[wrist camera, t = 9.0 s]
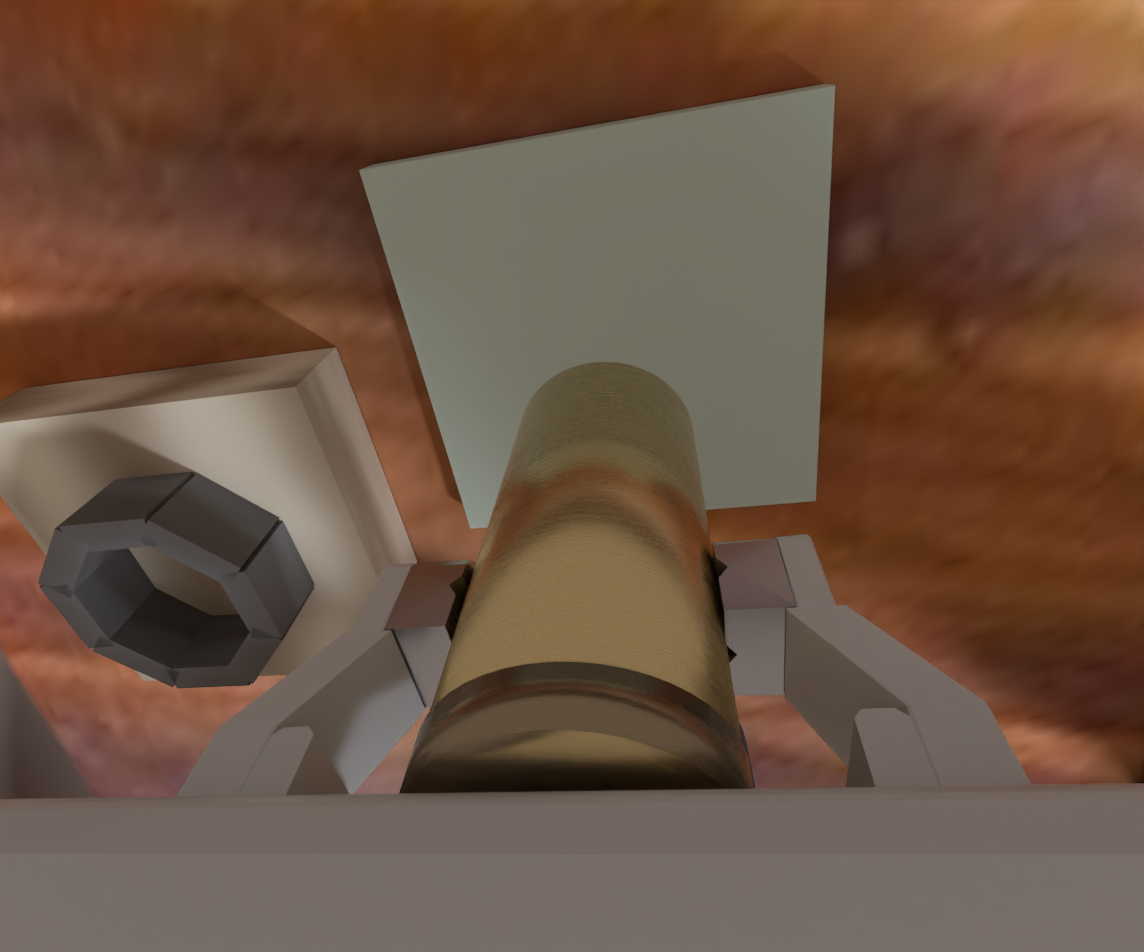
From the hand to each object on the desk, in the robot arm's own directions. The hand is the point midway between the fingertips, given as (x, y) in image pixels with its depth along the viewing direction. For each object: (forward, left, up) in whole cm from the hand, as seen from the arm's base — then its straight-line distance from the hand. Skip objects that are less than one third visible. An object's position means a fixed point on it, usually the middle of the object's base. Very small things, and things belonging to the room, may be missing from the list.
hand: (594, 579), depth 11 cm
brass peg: (0, 0, -5) cm, 5 cm away
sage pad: (0, 0, -11) cm, 11 cm away
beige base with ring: (+15, +5, -11) cm, 19 cm away
